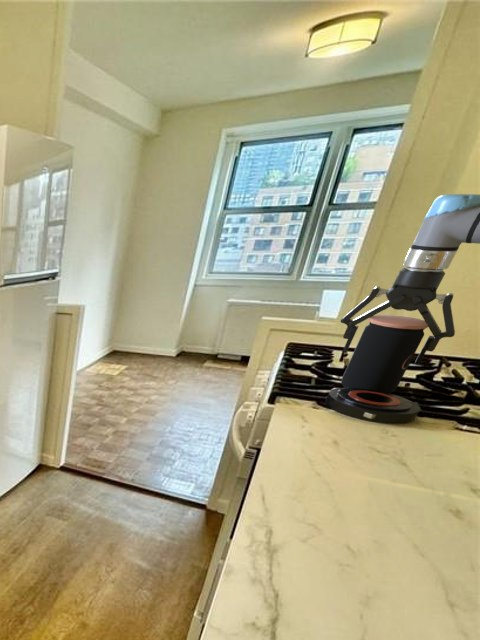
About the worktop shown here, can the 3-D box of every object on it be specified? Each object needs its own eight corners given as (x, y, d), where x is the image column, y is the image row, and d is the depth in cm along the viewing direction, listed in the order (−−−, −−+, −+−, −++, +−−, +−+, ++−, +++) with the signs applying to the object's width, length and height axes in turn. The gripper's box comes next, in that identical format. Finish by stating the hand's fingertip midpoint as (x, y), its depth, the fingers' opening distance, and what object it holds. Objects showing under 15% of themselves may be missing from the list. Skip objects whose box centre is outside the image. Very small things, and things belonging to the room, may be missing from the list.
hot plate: (433, 419, 110) (441, 406, 109) (378, 427, 107) (385, 415, 106) (358, 393, 124) (364, 382, 122) (308, 401, 121) (313, 389, 119)
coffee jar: (398, 399, 120) (436, 327, 111) (342, 392, 125) (374, 322, 116) (388, 385, 128) (423, 317, 119) (336, 379, 133) (365, 313, 124)
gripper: (350, 266, 118) (314, 350, 128) (505, 277, 102) (449, 372, 112) (355, 262, 122) (320, 343, 133) (504, 272, 106) (451, 364, 117)
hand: (379, 357), depth 123 cm, fingers open, 13 cm apart
